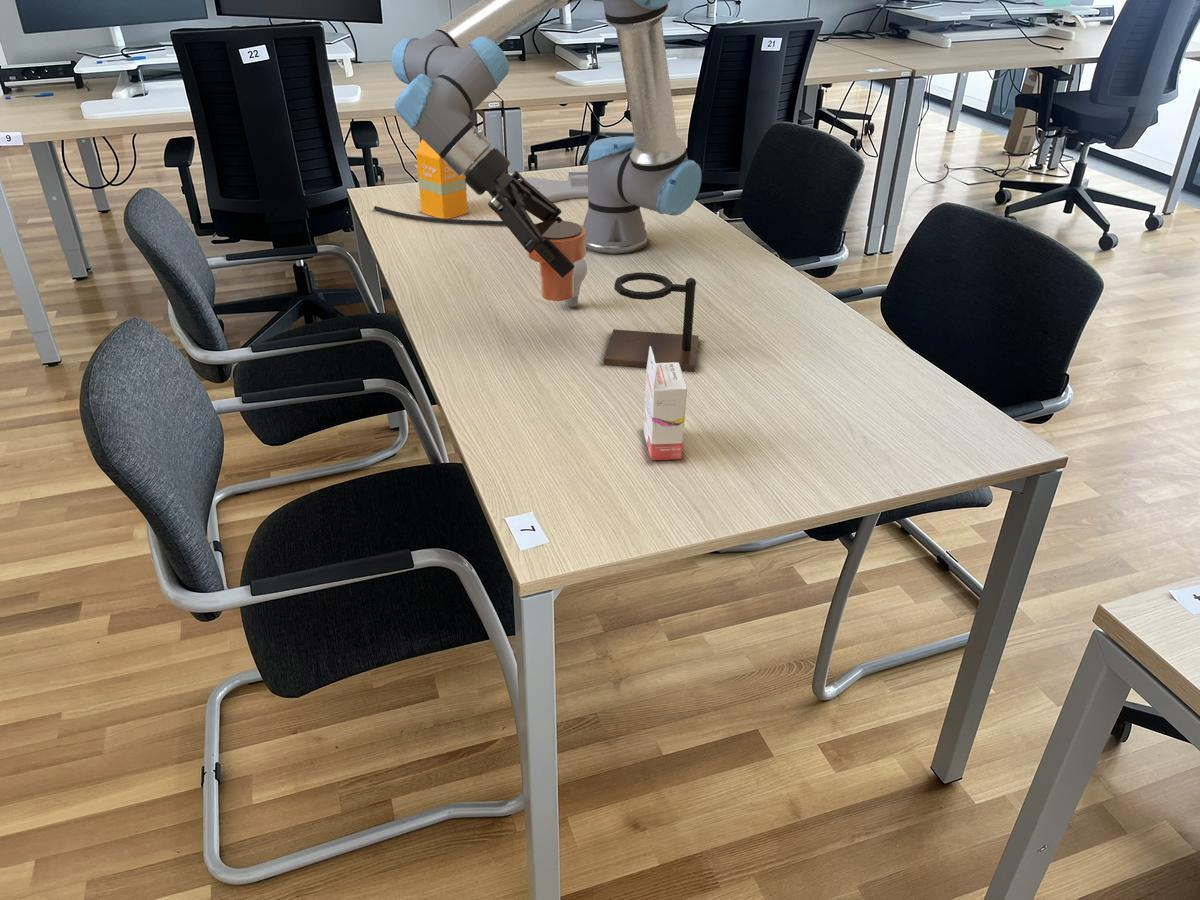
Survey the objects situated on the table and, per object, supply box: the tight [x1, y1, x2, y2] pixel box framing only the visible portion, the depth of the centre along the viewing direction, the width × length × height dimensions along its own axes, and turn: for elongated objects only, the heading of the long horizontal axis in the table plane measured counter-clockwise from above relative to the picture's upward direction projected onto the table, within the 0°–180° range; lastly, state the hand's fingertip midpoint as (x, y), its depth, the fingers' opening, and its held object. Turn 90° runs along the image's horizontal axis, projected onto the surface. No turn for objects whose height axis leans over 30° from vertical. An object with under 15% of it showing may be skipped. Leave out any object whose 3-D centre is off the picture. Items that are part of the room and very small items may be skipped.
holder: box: [523, 170, 588, 203], centre depth 240 cm, size 19×34×5 cm, turn 100°
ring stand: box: [613, 271, 697, 351], centre depth 159 cm, size 14×10×13 cm
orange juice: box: [415, 138, 469, 219], centre depth 221 cm, size 8×9×20 cm
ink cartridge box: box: [643, 346, 688, 461], centre depth 133 cm, size 9×5×15 cm, turn 5°
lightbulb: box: [564, 257, 588, 309], centre depth 176 cm, size 6×6×11 cm
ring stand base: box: [603, 329, 700, 372], centre depth 162 cm, size 16×12×1 cm
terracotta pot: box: [526, 220, 587, 302], centre depth 157 cm, size 10×10×12 cm
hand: (574, 260), depth 156 cm, fingers closed on terracotta pot, 10 cm apart
